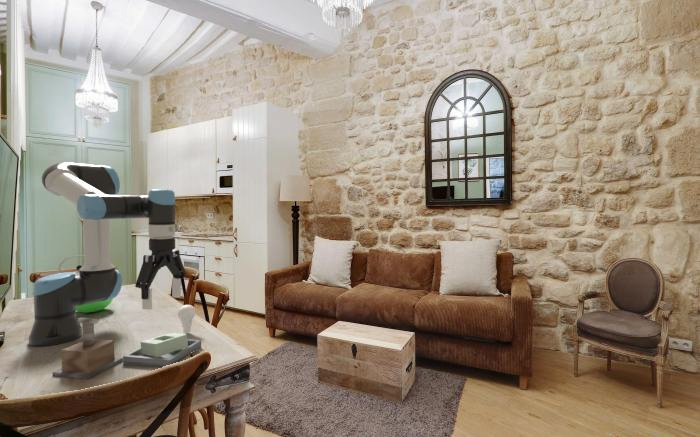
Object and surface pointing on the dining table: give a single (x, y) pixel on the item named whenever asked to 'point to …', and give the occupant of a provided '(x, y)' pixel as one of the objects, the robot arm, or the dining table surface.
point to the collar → (164, 344)
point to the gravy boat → (93, 306)
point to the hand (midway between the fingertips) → (162, 302)
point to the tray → (167, 359)
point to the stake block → (87, 354)
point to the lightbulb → (186, 317)
